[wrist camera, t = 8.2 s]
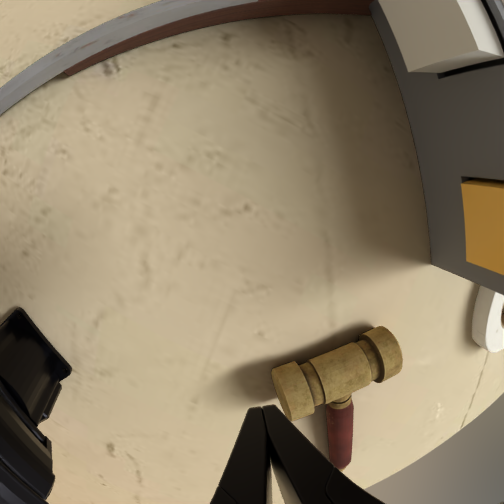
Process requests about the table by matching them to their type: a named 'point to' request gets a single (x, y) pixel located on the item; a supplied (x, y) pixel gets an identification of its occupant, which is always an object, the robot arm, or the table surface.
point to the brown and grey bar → (157, 33)
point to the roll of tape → (488, 320)
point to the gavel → (337, 385)
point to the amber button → (484, 222)
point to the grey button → (442, 33)
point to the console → (453, 140)
